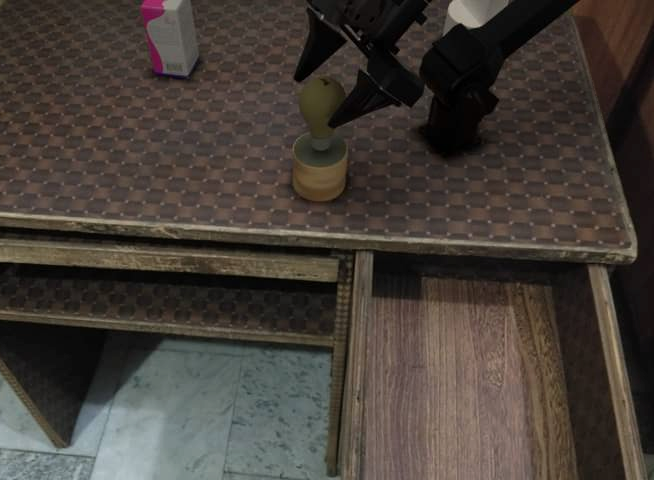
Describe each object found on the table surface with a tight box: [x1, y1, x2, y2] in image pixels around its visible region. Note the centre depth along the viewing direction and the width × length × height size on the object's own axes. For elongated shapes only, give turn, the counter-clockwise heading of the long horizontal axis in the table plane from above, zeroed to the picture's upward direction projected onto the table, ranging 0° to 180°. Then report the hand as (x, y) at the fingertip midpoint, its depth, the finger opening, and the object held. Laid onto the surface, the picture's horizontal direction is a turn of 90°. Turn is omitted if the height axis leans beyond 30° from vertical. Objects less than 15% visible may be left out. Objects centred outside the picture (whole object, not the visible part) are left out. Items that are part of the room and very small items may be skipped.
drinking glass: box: [442, 0, 510, 37], centre depth 94 cm, size 9×9×12 cm
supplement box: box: [140, 0, 200, 80], centre depth 96 cm, size 6×6×12 cm
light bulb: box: [298, 75, 347, 151], centre depth 76 cm, size 6×6×10 cm
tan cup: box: [291, 131, 349, 202], centre depth 82 cm, size 7×7×6 cm
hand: (312, 103), depth 74 cm, fingers open, 9 cm apart
